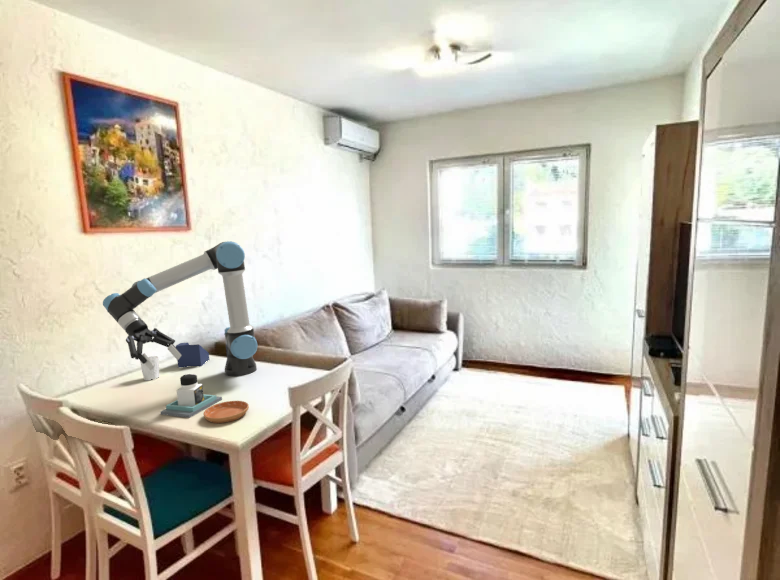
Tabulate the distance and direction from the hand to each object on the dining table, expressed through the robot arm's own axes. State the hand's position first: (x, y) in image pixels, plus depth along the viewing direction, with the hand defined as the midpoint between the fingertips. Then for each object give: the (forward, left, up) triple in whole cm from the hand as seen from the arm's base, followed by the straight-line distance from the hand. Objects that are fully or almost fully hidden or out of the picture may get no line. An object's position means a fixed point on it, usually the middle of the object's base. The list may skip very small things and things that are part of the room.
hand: (166, 362), depth 174 cm
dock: (-9, +6, -18) cm, 21 cm away
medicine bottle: (-8, +6, -17) cm, 20 cm away
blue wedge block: (-1, -61, -18) cm, 63 cm away
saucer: (-23, +21, -18) cm, 36 cm away
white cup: (+16, -43, -18) cm, 49 cm away
